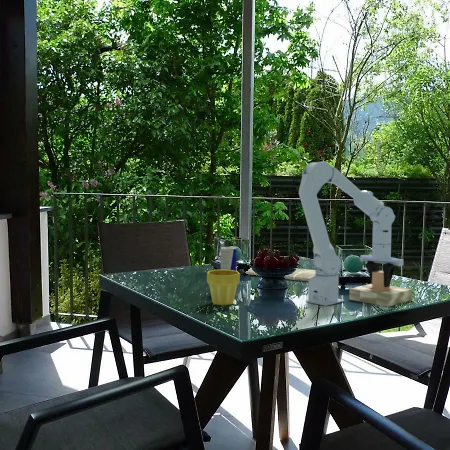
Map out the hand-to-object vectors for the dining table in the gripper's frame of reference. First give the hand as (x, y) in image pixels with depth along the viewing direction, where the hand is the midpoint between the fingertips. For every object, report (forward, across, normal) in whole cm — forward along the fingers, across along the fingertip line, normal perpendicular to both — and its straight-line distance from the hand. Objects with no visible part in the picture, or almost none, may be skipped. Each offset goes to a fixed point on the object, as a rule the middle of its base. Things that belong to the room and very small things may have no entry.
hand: (380, 285), depth 179 cm
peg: (+2, 0, 0) cm, 3 cm away
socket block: (+4, 0, 0) cm, 4 cm away
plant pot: (+5, +31, +40) cm, 51 cm away
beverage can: (+5, +45, +25) cm, 52 cm away
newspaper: (+5, +54, -12) cm, 56 cm away
